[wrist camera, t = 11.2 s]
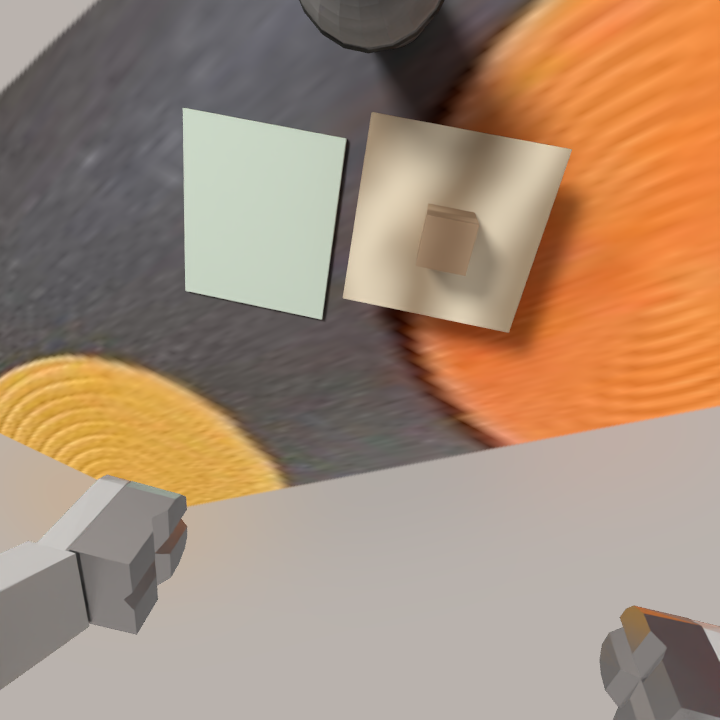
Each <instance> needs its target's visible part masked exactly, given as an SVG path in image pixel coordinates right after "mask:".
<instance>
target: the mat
mask: <svg viewBox="0 0 720 720" xmlns="http://www.w3.org/2000/svg"><path fill="white" fill-rule="evenodd" d="M346 143H347V139H346V138H341V137H335V136H330V135H325V134H320V133H314V132H309V131H304V130H299V129H293V128H288V127H283V126H277V125H272V124H267V123H262V122H256V121H251V120H246V119H241V118H235V117H230V116H225V115H220V114H214V113H209V112H204V111H199V110H193V109H188V108H183V150H184V222H185V291H189V292H194V293H199V294H203V295H208V296H213V297H217V298H222V299H227V300H232V301H236V302H241V303H246V304H250V305H255V306H260V307H265V308H269V309H274V310H279V311H283V312H288V313H293V314H298V315H302V316H307V317H312V318H317V319H321V320H322V318H323V312H324V305H325V297H326V290H327V283H328V275H329V268H330V261H331V253H332V246H333V238H334V231H335V224H336V216H337V209H338V202H339V194H340V187H341V180H342V172H343V165H344V158H345V150H346Z"/></svg>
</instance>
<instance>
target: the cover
mask: <svg viewBox="0 0 720 720" xmlns="http://www.w3.org/2000/svg"><path fill="white" fill-rule="evenodd" d="M571 151H572V149H567V148H562V147H557V146H551V145H546V144H541V143H535V142H530V141H525V140H519V139H514V138H509V137H503V136H498V135H492V134H487V133H482V132H476V131H471V130H466V129H460V128H455V127H450V126H444V125H439V124H434V123H428V122H423V121H417V120H412V119H407V118H401V117H396V116H391V115H385V114H380V113H375V112H372V114H371V120H370V126H369V133H368V139H367V146H366V152H365V159H364V165H363V172H362V178H361V184H360V191H359V197H358V204H357V210H356V217H355V223H354V230H353V236H352V243H351V249H350V255H349V262H348V268H347V275H346V281H345V288H344V294H343V298H345V299H350V300H354V301H359V302H364V303H369V304H374V305H378V306H383V307H388V308H393V309H397V310H402V311H407V312H412V313H417V314H421V315H426V316H431V317H436V318H440V319H445V320H450V321H455V322H460V323H464V324H469V325H474V326H479V327H484V328H488V329H493V330H498V331H503V332H507V333H509V331H510V328H511V325H512V322H513V319H514V316H515V313H516V310H517V307H518V304H519V302H520V299H521V296H522V293H523V290H524V287H525V284H526V281H527V278H528V276H529V273H530V270H531V267H532V264H533V261H534V258H535V255H536V252H537V250H538V247H539V244H540V241H541V238H542V235H543V232H544V229H545V226H546V223H547V221H548V218H549V215H550V212H551V209H552V206H553V203H554V200H555V197H556V195H557V192H558V189H559V186H560V183H561V180H562V177H563V174H564V171H565V169H566V166H567V163H568V160H569V157H570V154H571Z"/></svg>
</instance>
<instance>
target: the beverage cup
mask: <svg viewBox="0 0 720 720" xmlns="http://www.w3.org/2000/svg"><path fill="white" fill-rule="evenodd" d="M299 1H300V3H301V6H302V8H303V10H304V12H305V14H306V15H307V16H308V17H309V19H310V20H311V21H312V22H313V23H314V25H315V26H316V27H317V28H318V30H319V31H320V32H321V33H322V34H323V35H324V36H326V37H328V38H329V39H331V40H332V41H334V42H335V43H337V44H339V45H340V46H342V47H343V48H346V49H351V50H356V51H361V52H365V53H373V52H379V51H384V50H390V49H394V48H399V47H403V46H405V45H407V44H409V43H410V42H412V41H414V40H415V39H416V38H417V36H418V35H419V34H420V33H421V32H422V31H423V30H424V28H425V26H426V25H427V24H428V23H429V22H430V21H431V20H432V19H433V18H434V17H435V16H436V14H437V13H438V12H439V10H440V8H441V6H442V4H443V2H444V0H299Z"/></svg>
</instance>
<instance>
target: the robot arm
mask: <svg viewBox="0 0 720 720" xmlns="http://www.w3.org/2000/svg"><path fill="white" fill-rule="evenodd" d="M186 510H187V505H186V497H185V496H183V495H180V494H177V493H173V492H170V491H166V490H162V489H159V488H155V487H151V486H148V485H144V484H141V483H137V482H133V481H129V480H125V479H121V478H117V477H114V476H110V475H106V476H104V477H102V478H100V479H98V480H97V481H96V482H95V483H94V484H93V485H92V486H91V487H90V488H89V489H88V490H87V491H86V492H85V493H84V494H83V495H82V496H81V497H80V498H79V499H78V500H77V501H76V503H75V504H74V505H73V506H72V507H71V508H70V509H69V510H68V511H67V512H66V513H65V514H64V515H63V516H62V517H61V518H60V519H59V520H58V521H57V522H56V523H55V524H54V525H53V527H52V528H51V529H50V530H49V531H48V532H47V533H46V534H45V535H44V536H43V537H42V538H41V539H40V540H39V541H38V542H37V543H36V542H32V541H27V542H25V543H23V544H21V545H18V546H16V547H14V548H12V549H9V550H7V551H5V552H2V553H1V554H0V690H1V689H2V688H4V687H5V686H6V685H8V684H9V683H11V682H12V681H14V680H15V679H16V678H18V677H19V676H21V675H22V674H23V673H25V672H26V671H27V670H29V669H30V668H32V667H33V666H35V665H36V664H37V663H39V662H40V661H42V660H43V659H44V658H46V657H47V656H49V655H50V654H51V653H53V652H54V651H56V650H57V649H58V648H60V647H61V646H63V645H64V644H65V643H67V642H68V641H70V640H71V639H72V638H74V637H75V636H77V635H78V634H79V633H80V632H82V631H84V630H85V629H86V628H88V627H89V623H90V624H94V625H98V626H103V627H107V628H111V629H115V630H120V631H124V632H128V633H133V634H137V633H138V632H139V630H140V628H141V627H142V625H143V623H144V622H145V620H146V618H147V616H148V615H149V613H150V612H151V610H152V608H153V606H154V605H155V603H156V602H157V600H158V595H157V585H159V584H161V583H162V582H164V581H166V580H168V579H169V578H170V577H171V576H172V575H173V573H174V571H175V569H176V568H177V566H178V564H179V562H180V559H181V557H182V554H183V551H184V549H185V544H186V539H187V526H186V524H185V523H184V522H183V520H182V519H181V518H182V516H183V515H184V513H185V511H186ZM620 619H621V622H622V625H623V627H622V628H620V629H617V630H615V631H612V632H610V633H609V634H608V636H607V637H606V639H605V641H604V642H603V644H602V648H601V655H600V668H601V676H602V680H603V683H604V688H605V691H606V692H607V693H608V694H609V695H610V697H611V698H612V699H613V701H614V702H615V703H616V704H617V706H618V709H617V711H616V714H615V716H614V719H613V720H720V626H716V625H711V624H707V623H704V622H699V621H695V620H691V619H689V618H685V617H681V616H676V615H672V614H667V613H663V612H659V611H655V610H650V609H646V608H642V607H638V606H632V607H629V608H627V609H626V610H625V611H624V612H623V614H622V615H621V617H620Z"/></svg>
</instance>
